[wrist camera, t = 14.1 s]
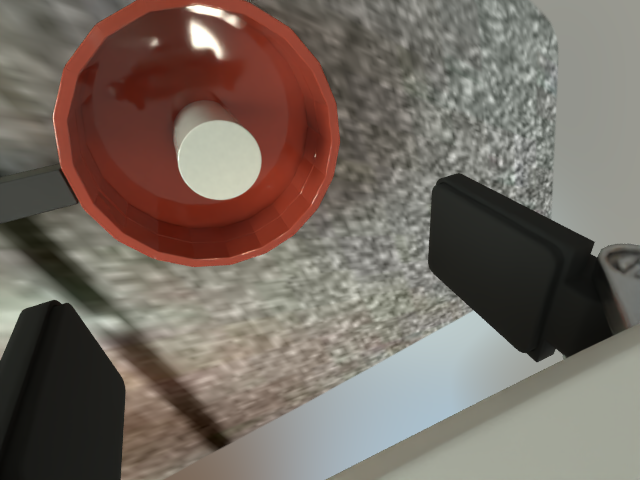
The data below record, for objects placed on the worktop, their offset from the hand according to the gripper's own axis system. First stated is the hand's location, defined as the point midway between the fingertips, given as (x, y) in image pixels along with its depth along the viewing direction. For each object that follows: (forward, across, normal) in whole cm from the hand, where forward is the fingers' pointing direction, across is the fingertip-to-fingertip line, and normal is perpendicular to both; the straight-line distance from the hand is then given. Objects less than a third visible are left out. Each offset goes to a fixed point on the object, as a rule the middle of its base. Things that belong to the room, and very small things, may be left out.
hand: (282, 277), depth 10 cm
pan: (+19, 0, +1) cm, 19 cm away
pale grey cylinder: (+18, 0, +1) cm, 18 cm away
